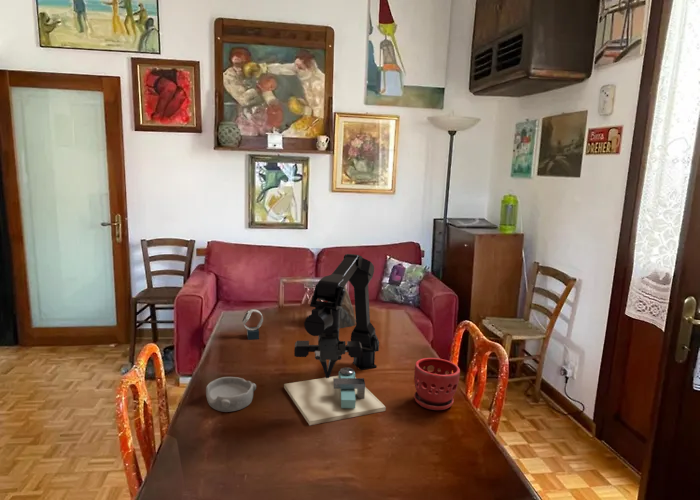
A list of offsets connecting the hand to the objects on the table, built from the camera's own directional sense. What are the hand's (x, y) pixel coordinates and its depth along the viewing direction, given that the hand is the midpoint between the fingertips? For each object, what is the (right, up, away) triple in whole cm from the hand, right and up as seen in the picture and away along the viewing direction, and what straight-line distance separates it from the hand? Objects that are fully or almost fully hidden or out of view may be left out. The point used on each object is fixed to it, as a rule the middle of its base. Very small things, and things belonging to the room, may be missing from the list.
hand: (327, 377), depth 142 cm
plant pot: (+32, -10, +8) cm, 34 cm away
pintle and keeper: (+6, -7, +13) cm, 15 cm away
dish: (-29, -8, +5) cm, 30 cm away
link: (+6, -7, +10) cm, 13 cm away
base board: (+1, -8, +8) cm, 12 cm away
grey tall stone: (+2, +4, +75) cm, 76 cm away
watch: (-32, +1, +57) cm, 66 cm away
